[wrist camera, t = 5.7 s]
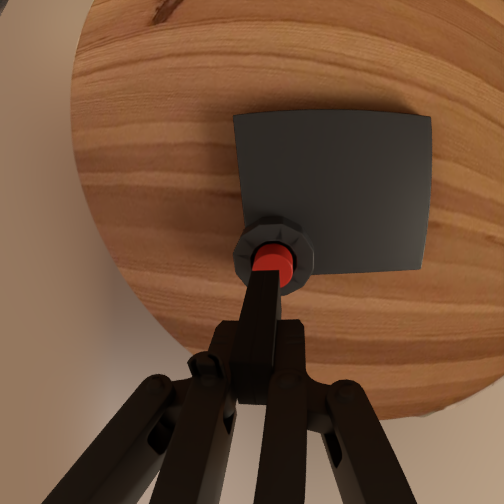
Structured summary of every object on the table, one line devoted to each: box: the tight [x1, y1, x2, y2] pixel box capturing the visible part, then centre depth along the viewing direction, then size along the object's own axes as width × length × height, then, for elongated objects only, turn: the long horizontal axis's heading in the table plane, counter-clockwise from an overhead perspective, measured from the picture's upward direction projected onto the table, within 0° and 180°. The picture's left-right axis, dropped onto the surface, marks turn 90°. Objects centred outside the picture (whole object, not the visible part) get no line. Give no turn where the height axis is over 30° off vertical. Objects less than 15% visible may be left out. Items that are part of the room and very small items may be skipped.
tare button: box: [252, 243, 293, 288], centre depth 18 cm, size 3×3×2 cm
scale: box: [233, 109, 432, 296], centre depth 18 cm, size 15×13×3 cm
